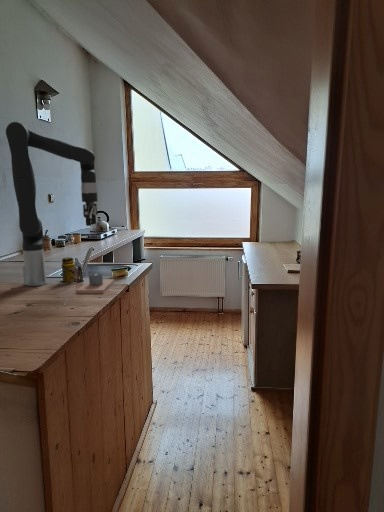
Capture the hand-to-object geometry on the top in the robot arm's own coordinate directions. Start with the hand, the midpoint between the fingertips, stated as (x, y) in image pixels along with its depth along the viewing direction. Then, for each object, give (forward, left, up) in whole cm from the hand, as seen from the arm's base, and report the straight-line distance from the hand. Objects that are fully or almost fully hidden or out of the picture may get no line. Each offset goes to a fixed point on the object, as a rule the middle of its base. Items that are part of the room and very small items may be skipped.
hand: (91, 224), depth 181 cm
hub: (+6, -17, -26) cm, 32 cm away
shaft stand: (+6, -17, -28) cm, 33 cm away
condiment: (-12, -6, -28) cm, 31 cm away
